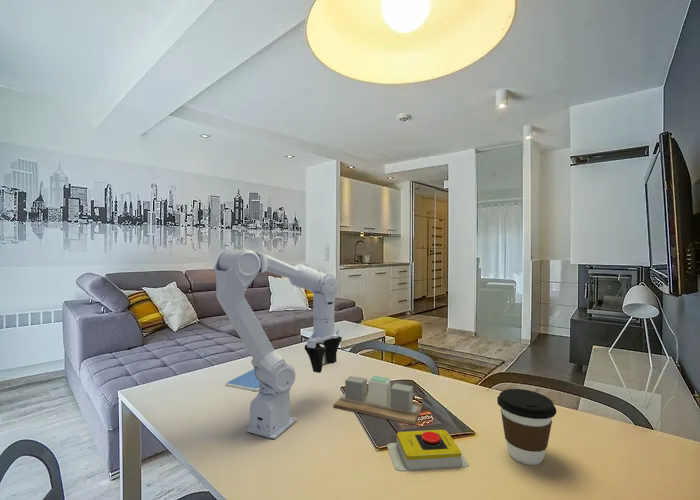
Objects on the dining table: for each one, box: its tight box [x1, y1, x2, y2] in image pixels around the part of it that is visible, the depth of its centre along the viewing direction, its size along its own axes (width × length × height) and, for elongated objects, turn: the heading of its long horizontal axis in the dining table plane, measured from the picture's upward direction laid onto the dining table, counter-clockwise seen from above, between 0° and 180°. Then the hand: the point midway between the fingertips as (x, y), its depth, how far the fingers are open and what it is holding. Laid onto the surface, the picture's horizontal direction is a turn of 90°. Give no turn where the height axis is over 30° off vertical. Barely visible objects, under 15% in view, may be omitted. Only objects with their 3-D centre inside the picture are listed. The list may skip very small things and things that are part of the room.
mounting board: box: [333, 393, 424, 425], centre depth 93 cm, size 10×22×1 cm, turn 66°
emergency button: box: [386, 429, 470, 472], centre depth 72 cm, size 9×4×15 cm
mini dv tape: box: [322, 353, 337, 367], centre depth 127 cm, size 8×2×6 cm, turn 131°
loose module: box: [367, 375, 391, 406], centre depth 93 cm, size 4×5×6 cm
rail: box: [339, 393, 418, 415], centre depth 93 cm, size 4×21×1 cm, turn 66°
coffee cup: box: [496, 388, 557, 466], centre depth 71 cm, size 11×11×12 cm
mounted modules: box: [344, 375, 414, 411], centre depth 93 cm, size 4×18×5 cm, turn 66°
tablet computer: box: [225, 368, 259, 392], centre depth 114 cm, size 19×13×1 cm, turn 158°
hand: (324, 367), depth 94 cm, fingers open, 7 cm apart
